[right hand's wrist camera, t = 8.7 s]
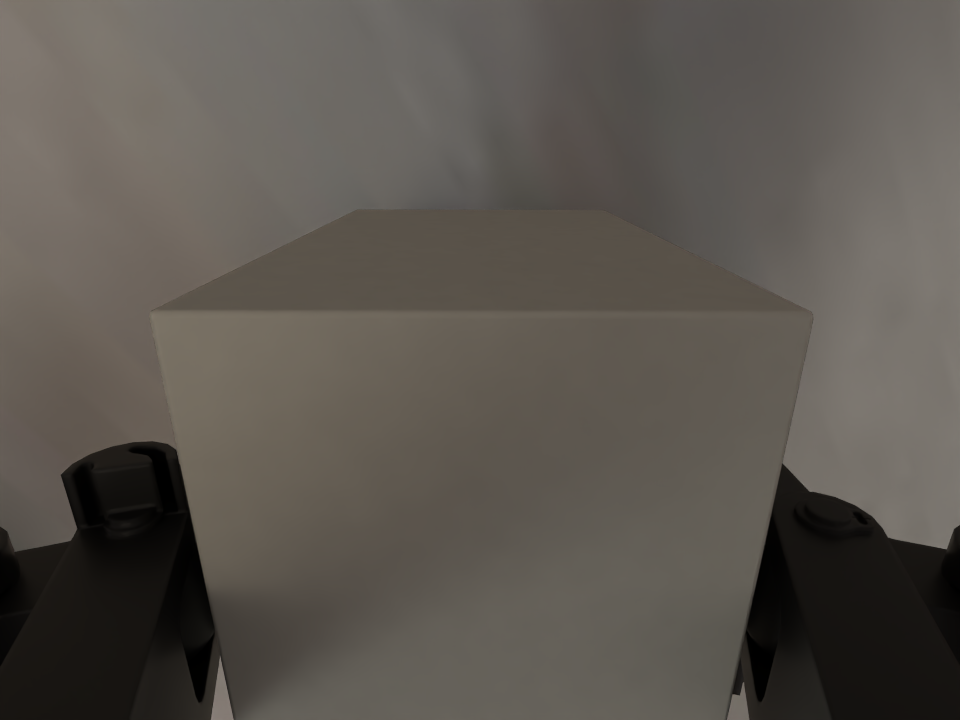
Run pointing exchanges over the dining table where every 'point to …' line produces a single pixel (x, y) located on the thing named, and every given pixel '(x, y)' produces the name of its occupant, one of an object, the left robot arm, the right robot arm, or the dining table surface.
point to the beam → (480, 466)
